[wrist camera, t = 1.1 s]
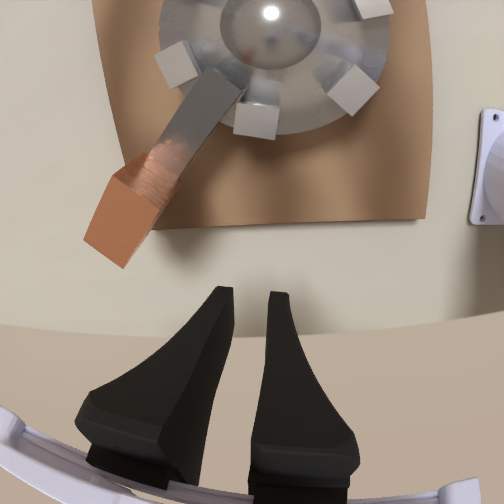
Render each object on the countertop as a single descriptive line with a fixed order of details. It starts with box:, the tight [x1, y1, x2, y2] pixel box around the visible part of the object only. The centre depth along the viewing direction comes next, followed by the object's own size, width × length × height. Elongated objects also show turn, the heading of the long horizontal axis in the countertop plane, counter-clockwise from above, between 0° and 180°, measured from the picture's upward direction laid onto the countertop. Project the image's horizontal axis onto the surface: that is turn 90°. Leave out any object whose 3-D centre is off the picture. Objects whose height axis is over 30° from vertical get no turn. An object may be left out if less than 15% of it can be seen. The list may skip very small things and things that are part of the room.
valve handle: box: [83, 0, 394, 269], centre depth 12 cm, size 17×10×6 cm, turn 143°
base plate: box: [92, 0, 433, 230], centre depth 14 cm, size 18×22×2 cm
